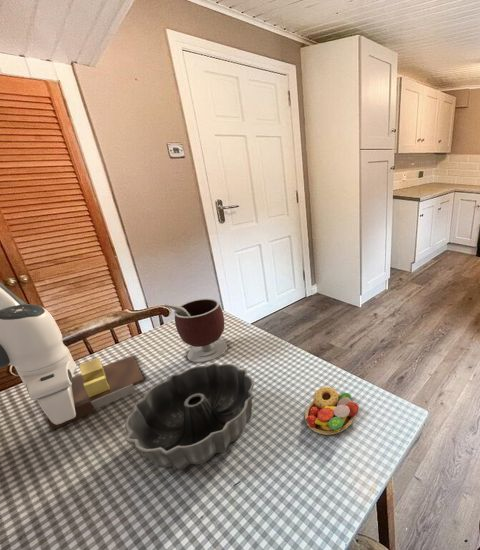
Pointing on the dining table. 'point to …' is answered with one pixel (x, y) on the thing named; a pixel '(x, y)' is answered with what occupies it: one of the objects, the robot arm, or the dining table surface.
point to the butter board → (114, 373)
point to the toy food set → (330, 411)
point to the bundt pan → (191, 415)
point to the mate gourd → (201, 328)
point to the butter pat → (96, 386)
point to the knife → (94, 404)
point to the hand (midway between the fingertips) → (70, 413)
